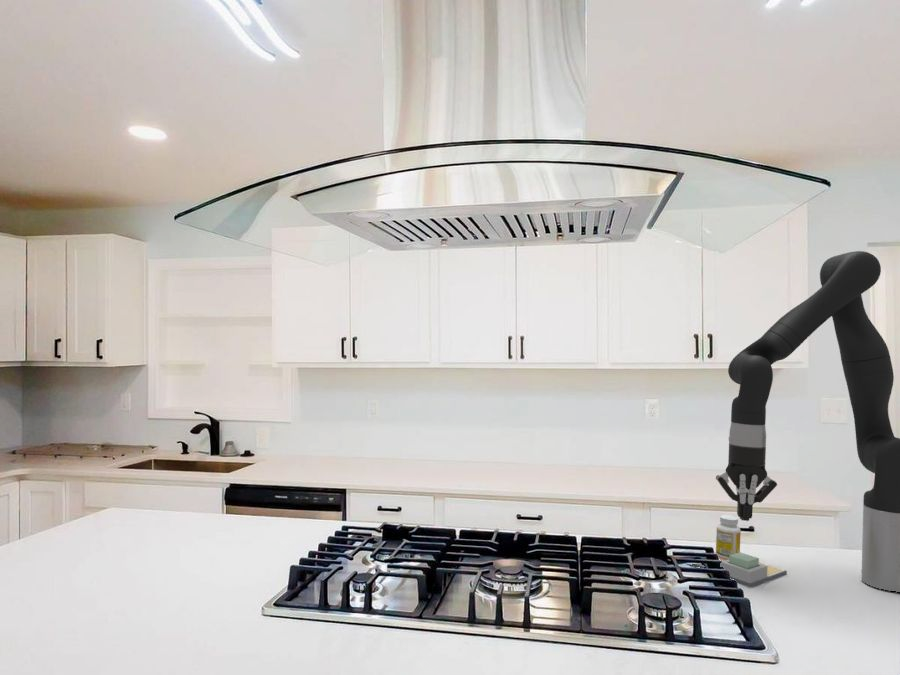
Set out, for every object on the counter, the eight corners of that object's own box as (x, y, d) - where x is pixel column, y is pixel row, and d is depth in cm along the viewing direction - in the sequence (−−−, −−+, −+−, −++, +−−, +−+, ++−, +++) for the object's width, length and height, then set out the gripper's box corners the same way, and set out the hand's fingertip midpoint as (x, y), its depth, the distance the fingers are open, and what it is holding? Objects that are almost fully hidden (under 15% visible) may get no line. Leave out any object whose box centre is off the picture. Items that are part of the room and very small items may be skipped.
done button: (758, 569, 138) (758, 558, 138) (747, 572, 136) (748, 561, 136) (739, 563, 142) (740, 552, 142) (729, 566, 139) (729, 555, 139)
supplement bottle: (723, 560, 147) (724, 520, 147) (711, 552, 152) (712, 514, 152) (744, 560, 148) (745, 520, 148) (732, 552, 153) (733, 514, 153)
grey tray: (786, 574, 142) (787, 560, 142) (751, 587, 134) (751, 572, 134) (722, 553, 155) (722, 540, 155) (686, 564, 147) (686, 550, 147)
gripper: (720, 443, 136) (717, 521, 136) (784, 447, 134) (781, 527, 134) (712, 438, 144) (709, 512, 144) (773, 442, 141) (770, 517, 141)
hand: (744, 519), depth 139 cm, fingers closed
